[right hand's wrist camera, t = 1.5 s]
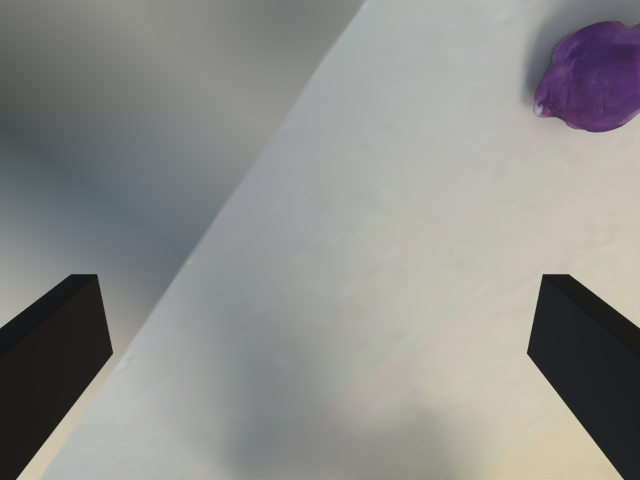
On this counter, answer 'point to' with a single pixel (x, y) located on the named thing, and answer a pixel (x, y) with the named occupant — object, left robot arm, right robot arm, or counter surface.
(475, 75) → the counter surface
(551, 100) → the figurine
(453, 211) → the counter surface
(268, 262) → the counter surface
